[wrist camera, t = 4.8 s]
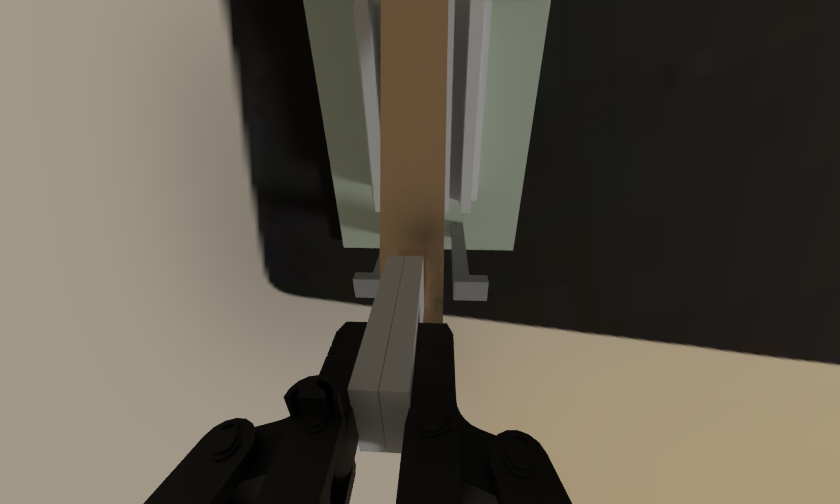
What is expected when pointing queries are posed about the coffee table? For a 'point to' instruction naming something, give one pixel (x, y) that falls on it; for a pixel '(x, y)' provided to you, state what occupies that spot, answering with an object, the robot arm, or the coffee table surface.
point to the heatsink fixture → (465, 122)
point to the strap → (414, 139)
